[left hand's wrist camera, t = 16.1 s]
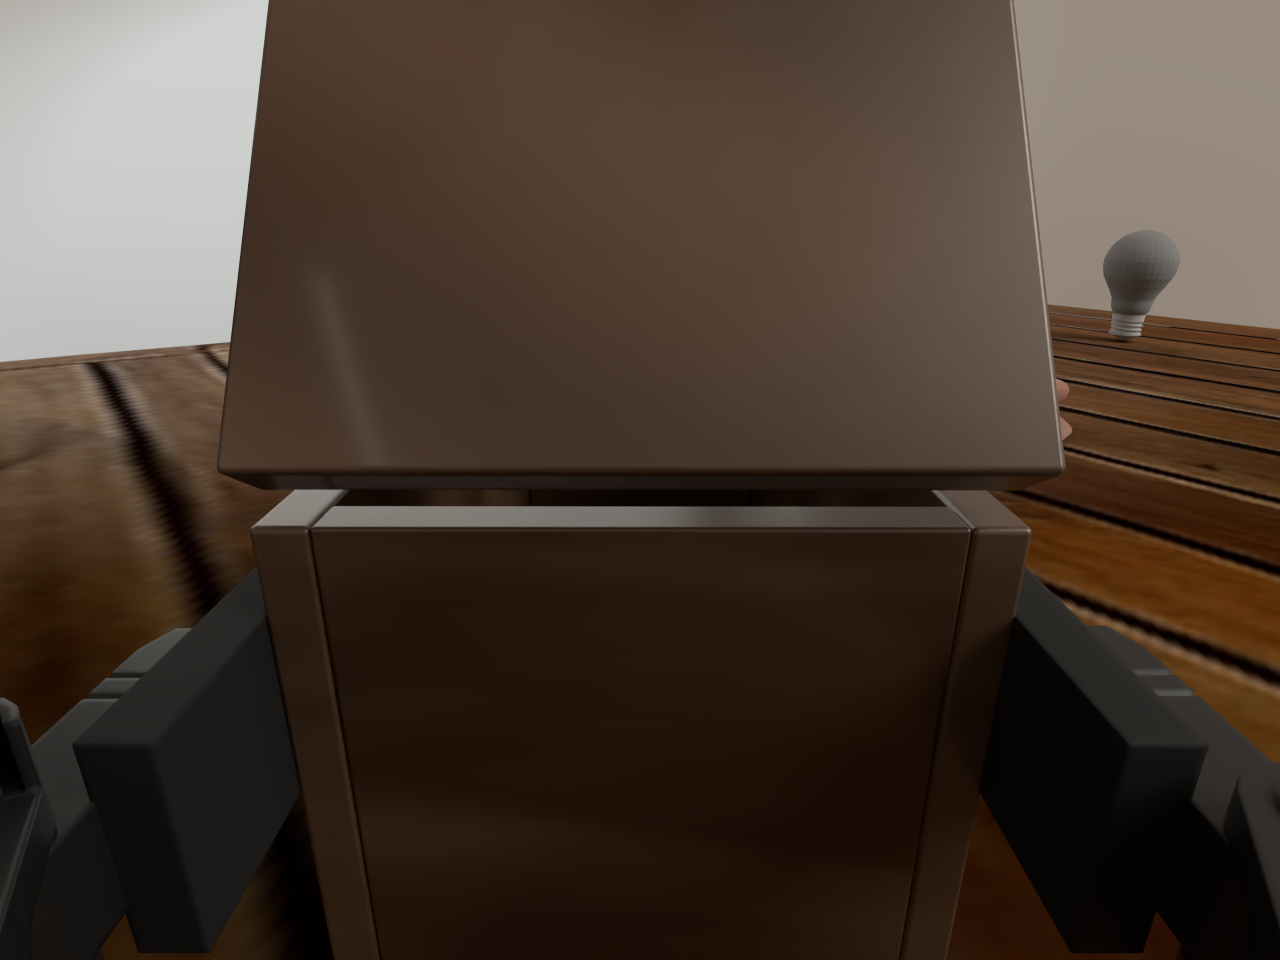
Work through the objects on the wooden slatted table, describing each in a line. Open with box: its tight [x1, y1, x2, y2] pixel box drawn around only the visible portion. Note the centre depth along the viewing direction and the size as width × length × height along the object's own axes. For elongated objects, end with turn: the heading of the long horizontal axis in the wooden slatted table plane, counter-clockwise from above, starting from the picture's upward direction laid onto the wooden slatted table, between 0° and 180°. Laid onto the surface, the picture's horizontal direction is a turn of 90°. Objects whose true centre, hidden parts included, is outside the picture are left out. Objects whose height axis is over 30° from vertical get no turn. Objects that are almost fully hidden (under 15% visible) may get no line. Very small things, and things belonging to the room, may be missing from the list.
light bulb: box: [1103, 230, 1180, 339], centre depth 72 cm, size 6×6×10 cm
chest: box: [250, 490, 1032, 960], centre depth 19 cm, size 17×9×10 cm, turn 0°
